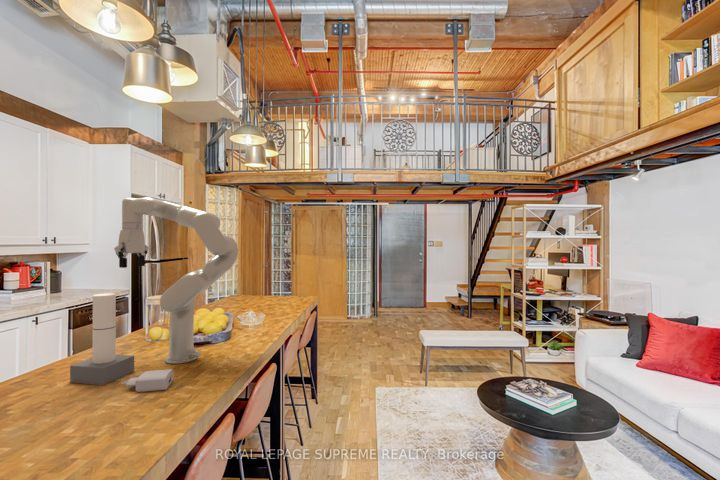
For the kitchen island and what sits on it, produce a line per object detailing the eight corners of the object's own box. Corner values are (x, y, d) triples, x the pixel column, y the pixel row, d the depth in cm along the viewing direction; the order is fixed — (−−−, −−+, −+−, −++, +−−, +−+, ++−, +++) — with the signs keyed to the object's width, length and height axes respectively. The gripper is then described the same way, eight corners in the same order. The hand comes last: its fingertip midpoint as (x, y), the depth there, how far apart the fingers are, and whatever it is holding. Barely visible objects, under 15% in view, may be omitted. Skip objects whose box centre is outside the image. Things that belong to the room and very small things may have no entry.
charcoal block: (134, 371, 143) (134, 355, 143) (103, 385, 129) (103, 368, 129) (103, 368, 145) (103, 353, 145) (70, 382, 131) (70, 365, 131)
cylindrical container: (90, 364, 132) (90, 296, 132) (94, 359, 139) (94, 294, 139) (114, 361, 136) (114, 295, 136) (116, 356, 142) (116, 292, 142)
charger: (127, 384, 130) (173, 380, 133) (116, 395, 121) (165, 391, 125) (127, 371, 130) (173, 368, 133) (116, 381, 121) (165, 377, 124)
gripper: (140, 227, 165) (140, 265, 165) (107, 226, 148) (107, 268, 148) (155, 227, 163) (154, 265, 163) (123, 226, 146) (123, 268, 146)
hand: (132, 266), depth 155 cm, fingers open, 9 cm apart
